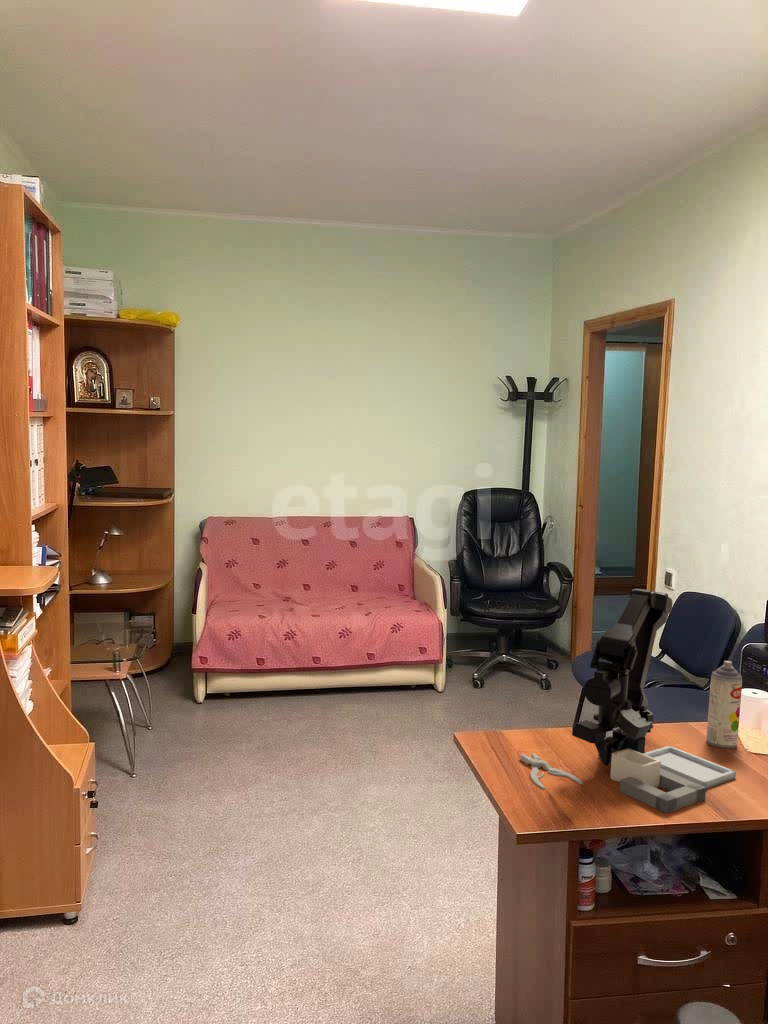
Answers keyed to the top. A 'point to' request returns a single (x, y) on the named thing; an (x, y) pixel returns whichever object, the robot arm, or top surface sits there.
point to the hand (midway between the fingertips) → (608, 764)
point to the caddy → (634, 766)
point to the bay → (677, 798)
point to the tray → (691, 767)
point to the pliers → (539, 763)
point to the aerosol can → (724, 707)
